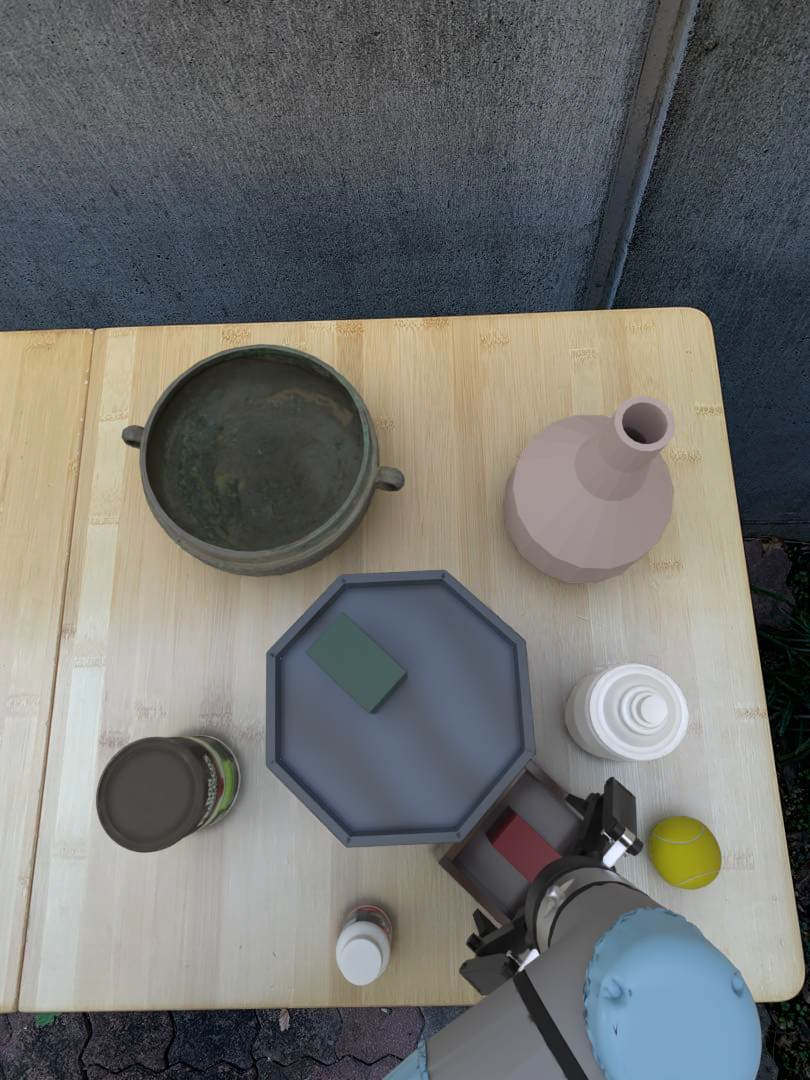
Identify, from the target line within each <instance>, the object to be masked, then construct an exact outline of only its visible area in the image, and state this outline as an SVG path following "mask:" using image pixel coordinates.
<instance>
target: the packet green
mask: <svg viewBox="0 0 810 1080" xmlns="http://www.w3.org/2000/svg"><path fill="white" fill-rule="evenodd" d="M305 653H306V654H307V655H308V656H309V657H310V658H311V659H312V660H313V661H314V662H315V663H316V664H317V665H319V666H320V667H321V668H322V669H323V670H324V671H325V672H326V673H327V674H328V675H329V676H330V677H331V678H332V679H333V680H334V681H335V682H336V683H337V684H338V685H339V686H340V687H342V688H343V689H344V690H345V691H346V692H347V693H348V694H349V695H350V696H351V697H352V698H353V699H354V700H355V701H356V702H357V703H358V704H359V705H360V706H361V707H362V708H364V709H365V710H366V711H367V712H368V713H369V714H375V713H376V712H377V711H378V710H379V709H380V708H381V707H382V706H383V705H384V703H385V702H386V701H387V700H388V699H389V698H390V697H391V696H392V694H393V693H394V692H395V691H396V690H397V689H398V688H399V687H400V686H401V684H402V683H403V682H404V681H405V680H406V679H407V678H408V675H407V671H406V670H405V669H404V668H403V667H402V666H401V665H400V664H398V663H397V662H396V661H395V660H394V659H393V658H392V657H391V656H390V655H389V654H388V653H387V652H386V651H384V650H383V649H382V648H381V647H380V646H379V645H378V644H377V643H376V642H375V641H374V640H373V639H371V638H370V637H369V636H368V635H367V634H366V633H365V632H364V631H363V630H362V629H361V628H360V627H359V626H357V625H356V624H355V623H354V622H353V621H352V620H351V619H350V618H349V617H348V616H347V615H346V614H345V613H342V614H341V615H340V616H339V617H338V618H337V619H336V620H335V621H334V622H333V623H332V624H331V625H330V626H329V628H328V629H327V630H326V631H325V632H324V633H323V634H322V635H321V636H320V637H319V638H318V639H317V640H316V641H315V642H314V644H313V645H312V646H311V647H310V648H309V649H308V650H307V651H306V652H305Z"/></svg>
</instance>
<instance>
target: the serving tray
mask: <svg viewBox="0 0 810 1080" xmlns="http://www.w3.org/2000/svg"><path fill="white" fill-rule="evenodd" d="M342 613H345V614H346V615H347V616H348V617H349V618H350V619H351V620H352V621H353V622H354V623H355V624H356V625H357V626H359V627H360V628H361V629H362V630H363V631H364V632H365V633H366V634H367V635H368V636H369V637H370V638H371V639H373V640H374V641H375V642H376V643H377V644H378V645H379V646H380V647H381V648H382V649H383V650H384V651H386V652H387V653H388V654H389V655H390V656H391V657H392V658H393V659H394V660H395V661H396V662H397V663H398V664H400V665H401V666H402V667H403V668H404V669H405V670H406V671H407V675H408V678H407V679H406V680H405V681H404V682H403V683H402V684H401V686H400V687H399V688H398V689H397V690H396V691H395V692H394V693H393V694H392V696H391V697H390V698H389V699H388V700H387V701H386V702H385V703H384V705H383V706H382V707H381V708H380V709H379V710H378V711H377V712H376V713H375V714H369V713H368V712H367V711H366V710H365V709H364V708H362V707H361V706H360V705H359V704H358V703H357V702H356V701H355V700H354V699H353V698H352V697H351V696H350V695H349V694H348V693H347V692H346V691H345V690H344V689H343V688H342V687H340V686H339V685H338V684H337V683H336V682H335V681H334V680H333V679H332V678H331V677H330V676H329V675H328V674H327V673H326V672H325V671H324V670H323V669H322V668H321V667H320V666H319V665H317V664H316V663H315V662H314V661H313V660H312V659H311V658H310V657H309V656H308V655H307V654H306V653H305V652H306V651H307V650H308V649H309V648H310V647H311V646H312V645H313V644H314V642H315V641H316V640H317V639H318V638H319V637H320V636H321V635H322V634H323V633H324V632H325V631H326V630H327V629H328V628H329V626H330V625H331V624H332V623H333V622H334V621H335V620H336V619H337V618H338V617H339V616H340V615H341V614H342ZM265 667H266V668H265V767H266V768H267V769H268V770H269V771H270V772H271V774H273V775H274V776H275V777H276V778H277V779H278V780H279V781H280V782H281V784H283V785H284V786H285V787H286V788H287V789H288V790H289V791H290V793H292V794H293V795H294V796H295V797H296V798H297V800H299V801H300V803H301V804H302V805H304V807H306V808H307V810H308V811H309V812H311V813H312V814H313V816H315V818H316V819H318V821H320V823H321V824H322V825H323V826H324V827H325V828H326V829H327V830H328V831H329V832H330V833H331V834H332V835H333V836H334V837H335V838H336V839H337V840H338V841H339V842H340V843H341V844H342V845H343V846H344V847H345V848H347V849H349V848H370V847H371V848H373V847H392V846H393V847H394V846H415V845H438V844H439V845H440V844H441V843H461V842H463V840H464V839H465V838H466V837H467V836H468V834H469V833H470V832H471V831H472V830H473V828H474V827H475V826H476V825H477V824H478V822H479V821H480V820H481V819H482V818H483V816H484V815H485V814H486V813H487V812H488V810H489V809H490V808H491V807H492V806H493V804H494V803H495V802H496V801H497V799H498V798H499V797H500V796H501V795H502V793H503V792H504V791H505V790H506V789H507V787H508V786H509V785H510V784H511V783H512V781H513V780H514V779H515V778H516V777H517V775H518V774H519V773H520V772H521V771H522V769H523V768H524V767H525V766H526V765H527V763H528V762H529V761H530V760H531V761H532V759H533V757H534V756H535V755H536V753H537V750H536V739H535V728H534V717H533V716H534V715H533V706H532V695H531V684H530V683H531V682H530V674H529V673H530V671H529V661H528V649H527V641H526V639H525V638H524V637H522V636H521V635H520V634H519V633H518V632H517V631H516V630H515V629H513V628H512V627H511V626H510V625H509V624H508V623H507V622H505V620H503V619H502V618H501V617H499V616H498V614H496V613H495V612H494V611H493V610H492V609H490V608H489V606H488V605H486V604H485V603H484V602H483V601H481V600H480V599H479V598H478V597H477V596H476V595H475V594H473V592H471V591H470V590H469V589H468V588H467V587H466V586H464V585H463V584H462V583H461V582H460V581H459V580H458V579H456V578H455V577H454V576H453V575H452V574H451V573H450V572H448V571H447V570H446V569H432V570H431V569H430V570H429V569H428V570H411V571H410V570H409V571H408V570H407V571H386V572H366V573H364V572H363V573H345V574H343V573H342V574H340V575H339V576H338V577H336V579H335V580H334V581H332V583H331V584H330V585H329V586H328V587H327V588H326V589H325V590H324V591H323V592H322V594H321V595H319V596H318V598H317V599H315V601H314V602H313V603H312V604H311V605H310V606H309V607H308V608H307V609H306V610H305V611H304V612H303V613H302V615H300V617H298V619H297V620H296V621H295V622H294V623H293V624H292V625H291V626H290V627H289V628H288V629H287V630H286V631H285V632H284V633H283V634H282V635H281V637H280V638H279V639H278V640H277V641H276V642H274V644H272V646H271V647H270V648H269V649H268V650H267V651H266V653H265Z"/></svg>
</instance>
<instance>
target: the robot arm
mask: <svg viewBox="0 0 810 1080" xmlns="http://www.w3.org/2000/svg"><path fill="white" fill-rule="evenodd" d="M567 794H568V796H567V797H566V798H565V800H566V801H567V802H568V803H569V804H570V805H571V806H572V807H573V808H574V809H576V810H577V811H578V812H579V813H580V814H581V815H582V816H583V817H584V819H583V822H582V825H581V828H580V831H579V833H578V836H577V839H576V840H575V841H574V842H573V843H571V844H570V845H569V846H568V847H567V849H566V852H565V855H564V857H562V858H559V859H557V860H554V861H553V862H551V863H549V864H548V865H546V866H545V867H544V868H543V869H542V870H541V871H540V872H539V873H538V874H537V876H536V877H535V879H534V880H533V882H532V884H531V886H530V888H529V891H528V894H527V899H526V904H525V905H524V906H522V907H521V908H519V909H518V911H517V914H516V916H515V918H514V920H512V921H510V922H509V923H507V924H505V925H503V926H500V927H499V928H498V927H497V926H496V924H495V923H493V922H492V920H491V919H489V917H487V916H486V915H485V913H484V912H482V911H481V910H480V909H479V908H478V907H477V908H476V909H475V910H474V912H473V913H472V914H471V915H472V918H473V921H474V924H475V927H476V930H477V933H478V934H476V933H475V932H471V934H470V935H469V937H468V938H467V940H466V941H465V946H467V947H468V948H469V950H471V952H473V954H475V955H474V958H468V959H466V960H465V961H463V962H462V963H461V965H460V967H459V969H458V973H459V974H460V975H461V977H463V978H464V980H466V982H467V983H469V984H470V985H471V987H472V988H474V990H476V992H478V994H479V995H480V996H482V997H483V998H482V999H481V1000H479V1001H478V1002H476V1003H475V1004H474V1005H472V1006H471V1007H470V1008H468V1009H467V1010H466V1011H465V1012H463V1013H461V1014H460V1015H459V1016H457V1018H455V1019H453V1020H452V1021H451V1022H449V1023H448V1024H447V1025H445V1026H444V1027H443V1028H441V1029H440V1030H439V1031H437V1032H436V1033H434V1034H433V1035H432V1036H431V1037H429V1038H428V1039H426V1040H425V1039H423V1040H421V1041H420V1042H418V1044H417V1047H416V1049H415V1050H414V1051H412V1052H411V1053H410V1054H409V1055H408V1056H407V1057H406V1058H404V1060H402V1061H401V1062H400V1063H399V1064H397V1066H396V1067H395V1068H393V1069H392V1070H391V1071H390V1072H389V1073H388V1074H386V1075H385V1076H383V1078H381V1080H756V1079H757V1075H758V1071H759V1068H760V1064H761V1057H762V1051H763V1050H762V1049H763V1043H762V1041H763V1040H762V1036H763V1035H762V1028H761V1020H760V1016H759V1012H758V1007H757V1005H756V1002H755V999H754V996H753V994H752V993H751V990H750V988H749V987H748V984H747V983H746V981H745V979H744V977H743V975H742V973H741V970H739V968H737V967H736V966H735V964H734V963H733V962H732V961H731V960H730V959H729V958H728V957H727V956H726V955H725V954H724V953H723V952H722V951H721V950H720V949H719V948H717V947H716V945H714V944H713V943H712V942H711V941H710V940H709V939H708V938H706V937H705V934H704V933H703V932H702V930H701V929H700V928H699V927H698V926H697V925H695V923H693V922H690V921H687V918H686V917H685V916H683V915H681V914H679V913H676V912H674V911H673V910H671V909H668V908H667V907H665V906H664V905H662V904H661V903H659V902H658V901H656V900H654V899H653V898H652V897H651V896H649V894H647V893H645V892H644V891H643V890H642V889H640V887H637V886H636V885H635V884H633V883H632V882H631V881H630V880H628V879H627V878H625V877H623V876H622V875H620V874H619V873H618V872H617V867H616V863H617V862H618V861H619V859H620V858H622V856H623V857H624V858H627V857H629V855H631V856H632V857H636V856H638V855H639V854H640V853H641V852H642V851H643V848H644V846H645V844H644V842H643V841H642V840H641V839H640V838H639V837H638V818H637V817H638V815H637V814H638V813H637V797H636V796H635V794H633V793H632V792H631V791H630V790H629V789H628V788H627V787H625V786H624V785H623V784H622V783H621V782H620V781H618V780H617V779H616V778H615V776H610V777H609V778H608V779H607V780H606V781H605V783H604V785H603V793H602V794H601V793H600V792H590V793H589V794H588V795H587V796H586V797H585V799H584V798H582V797H579V796H577V795H575V794H572V793H567Z"/></svg>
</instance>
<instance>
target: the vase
mask: <svg viewBox="0 0 810 1080" xmlns="http://www.w3.org/2000/svg"><path fill="white" fill-rule="evenodd" d="M675 430H676V421H675V417H674V414H673V412H672V411H671V409H670V408H669V406H668V405H667V404H665V403H664V402H663V401H662V400H660V399H658V398H656V397H652V396H650V395H635V396H633V397H629V398H627V399H626V400H624V401H623V402H622V403H621V404H620V405H619V406H618V408H617V409H616V411H615V412H614V414H613V415H612V416H611V417H610V416H606V415H605V414H575V415H572V416H569V417H565V418H562V419H559V420H556V421H553V422H550V423H549V424H548V425H547V426H545V427H544V428H543V429H542V430H540V431H538V433H536V434H535V435H534V436H533V437H532V438H530V439H529V441H528V443H527V444H526V446H525V448H524V450H523V451H522V453H521V454H520V456H519V458H518V460H517V461H516V463H515V465H514V467H513V468H512V471H511V473H510V475H509V476H508V478H507V480H506V484H505V491H504V495H503V502H502V509H503V516H504V521H505V526H506V531H507V533H508V535H509V536H510V538H511V540H512V541H513V543H514V545H515V547H516V548H517V550H518V553H520V555H521V556H522V557H523V558H524V559H525V560H526V561H528V562H529V563H530V564H531V565H533V566H534V567H535V568H536V569H537V570H539V571H540V572H541V573H543V574H545V575H546V576H549V577H552V578H554V579H557V580H560V581H563V582H565V583H567V584H568V583H569V584H598V583H600V582H603V581H607V580H610V579H613V578H615V577H618V576H621V575H622V574H624V573H625V572H626V571H627V570H628V569H630V568H631V567H632V566H633V565H635V564H636V563H637V562H638V561H639V560H640V559H641V558H643V556H645V555H646V554H647V553H648V552H649V551H650V550H652V549H653V548H654V547H655V546H656V545H657V544H658V543H659V542H660V540H661V538H662V536H663V534H664V533H665V531H666V529H667V527H668V525H669V523H670V521H671V519H672V513H673V505H674V497H675V496H674V495H675V490H674V485H673V481H672V477H671V473H670V470H669V465H668V463H667V462H666V460H665V459H664V458H663V456H662V454H661V452H662V451H663V450H664V449H665V447H666V446H668V444H670V442H671V440H672V438H673V437H674V435H675V432H676V431H675Z"/></svg>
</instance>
